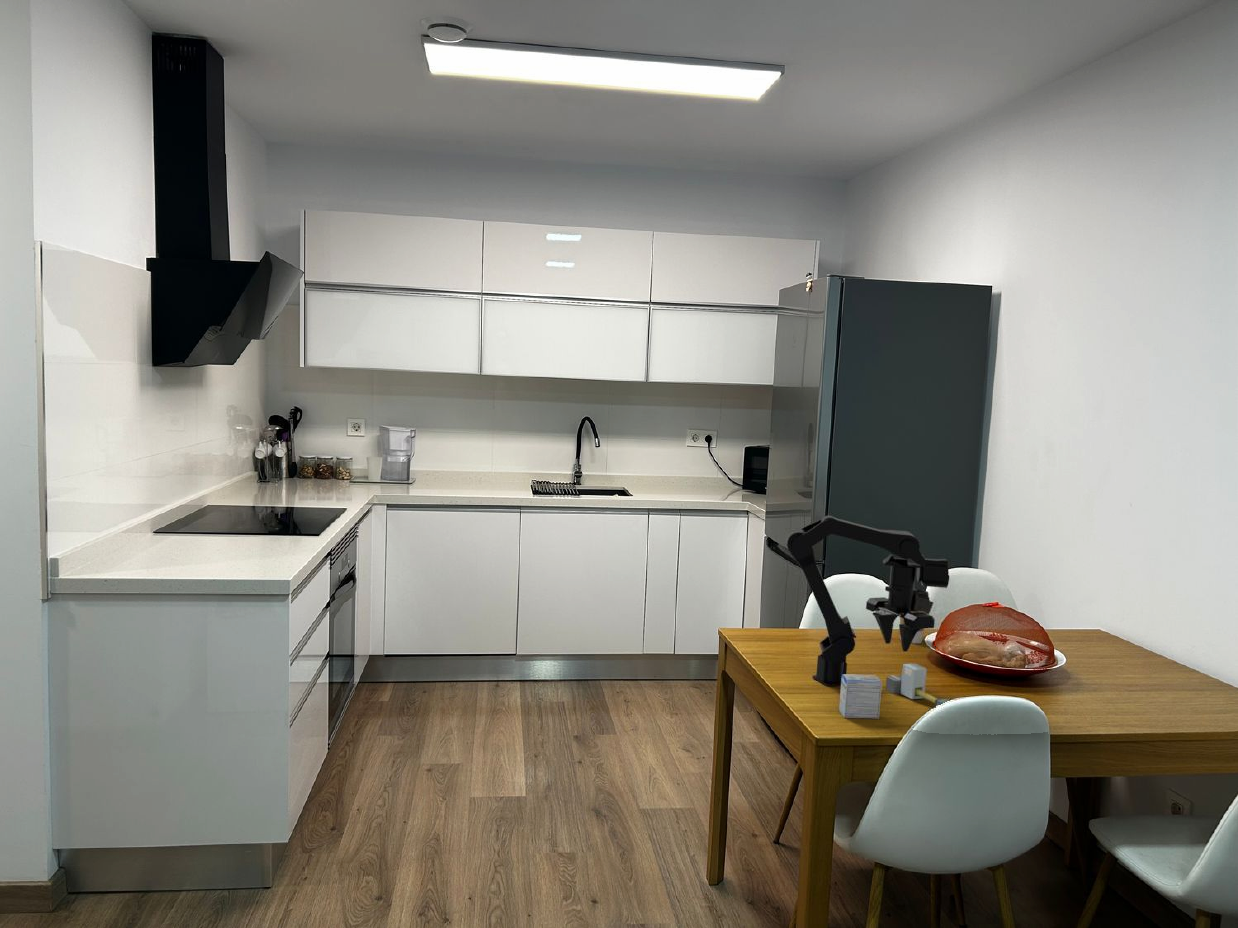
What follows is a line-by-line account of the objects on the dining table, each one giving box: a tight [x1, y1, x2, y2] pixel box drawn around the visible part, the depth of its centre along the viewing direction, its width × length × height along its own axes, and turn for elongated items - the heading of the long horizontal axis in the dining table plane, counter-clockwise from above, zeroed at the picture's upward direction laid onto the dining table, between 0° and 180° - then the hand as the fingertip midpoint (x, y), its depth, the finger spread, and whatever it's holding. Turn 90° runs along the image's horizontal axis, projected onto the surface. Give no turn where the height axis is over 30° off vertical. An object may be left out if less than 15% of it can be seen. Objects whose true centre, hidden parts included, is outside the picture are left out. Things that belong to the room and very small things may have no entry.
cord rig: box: [885, 673, 951, 706], centre depth 215 cm, size 6×19×4 cm, turn 22°
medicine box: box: [838, 673, 883, 720], centre depth 204 cm, size 8×4×9 cm, turn 92°
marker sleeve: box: [900, 662, 927, 700], centre depth 218 cm, size 4×4×7 cm
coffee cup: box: [899, 587, 931, 644], centre depth 266 cm, size 8×8×15 cm
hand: (896, 647), depth 224 cm, fingers open, 6 cm apart
